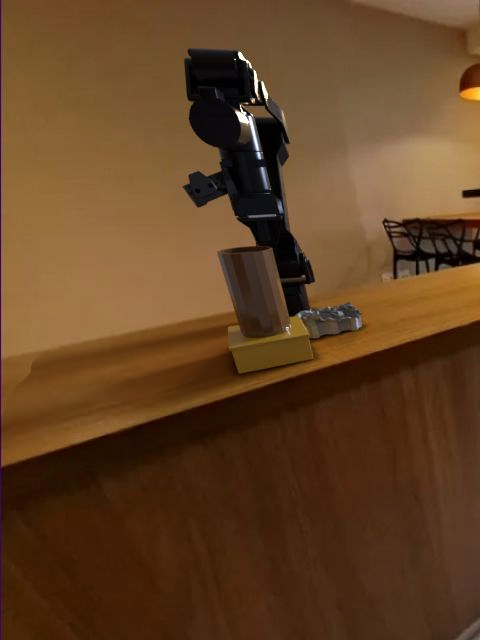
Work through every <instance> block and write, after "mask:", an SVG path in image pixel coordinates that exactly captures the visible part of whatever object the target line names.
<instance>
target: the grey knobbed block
mask: <svg viewBox="0 0 480 640" xmlns="http://www.w3.org/2000/svg"><path fill="white" fill-rule="evenodd" d="M295 316H299V317H300V319H301V321H302V322H303V324H304V326H305V328H306V329H307V331H308V333H309V335H310V337H309V339H320V337H321V336H324V335H337V334H340V333H341V332H343V331H352V332H353V331H358V330H359V328H362V326H363V323H362V318H361V316H363V312H361V311H360V310H359V309H358V308H357V307H356V306H355V305H353V304H352V303H351V302H350V301H346V303H344V304H339V305H334V306H333V307H330V306H326V307H324V308H320V309H319V308H318V309H316V310H314V311H301V312H299V313H297V314H296V315H295Z"/></svg>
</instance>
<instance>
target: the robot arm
mask: <svg viewBox="0 0 480 640" xmlns="http://www.w3.org/2000/svg"><path fill="white" fill-rule="evenodd" d="M186 52H187V55H188V56H189V57H184V58H183V63H184V65H183V66H184V77H185V78H184V79H185V90H186V99H187V100H188V102H189V103H192V104H191V105H190V108H189V111H188V122H189V125H190V127H191V130H192V131H193V133H194V134H195V135H196V137H198V138H199V140H201V141H202V142H204V143H205V144H207V145H208V146H211V147H213V148H217V150H218V154H219V158H220V161H218V164H219V166H220V171H217V172H214V173H212V174H209V175H206V174H204V173H203V172H201V171H199V170H196V171H194V172H191V173H190V174H188V176H187V177H188V183H187V184H184V185H182V186H181V187H182V189H183V190H184V191H185V193H186V195H187V196H188V197H189V199H190V200H191V202H192V203H193V204H194V205H195V207H196V208H198V209H199V208H202V207H204V206H206V205H208V203H209V202H212V201H215V200H217V199H220V198H222V197H224V196H226V195H227V196H228V198H229V202H230V206H231V210H232V211H233V214H234V217H235V219H236V220H237V221H238V222H239V223H241V224H242V225H244V226H245V227H247V228H248V229H249V230H250V232H251V234H252V235H251V236H253V239H254V241H255V246H269V247H272V249H273V253H274V257H275V261H276V265H277V270H278V274H279V278H280V282H281V286H282V290H283V294H284V298H285V302H286V306H287V310H288V314H289V317H294V316H295V315H296V314H297V313H299V312H301V311H315V310H314V309H313V307H312V306H311V305H310V301H309V296H308V291H307V287H306V285H311V284H313V283H316V278H315V274H314V270H313V267H312V263H311V261H310V259H309V258H308V257H307V255H306V254H305V252H304V251H303V250H302V248H301V246H300V243H299V242H298V240H297V239H296V238H295V236H294V235H293V234H292V232H291V226H290V218H289V211H288V202H287V196H286V195H287V194H286V188H285V180H284V179H285V178H284V173H283V167H284V165H285V163H286V162H287V161H288V159H289V157H290V150H289V145H291V144H292V140H291V135H290V131H289V127H288V124H287V120H286V117H285V114H284V111H283V109H282V108H281V107H280V106H279V104H278V103H276V102H275V101H274V100H273V99H272V98H271V97H270V96H269V95H268V92H267V90H266V86H265V83H264V81H263V80H259V79H258V77H257V72H256V71H255V69H254V68H253V67H252V65H251V62H250V61H249V60H247V59H246V58H245V57H244V56H243V54H242V53H241V51H240V50H239V49H226V48H225V49H223V48H204V47H203V48H202V47H188V49H187V50H186ZM246 107H264V109H265V111H266V112H267V113H268V114H269V115H270V116H254V115H253V114H252V112H250V111H249V110H248V109H247V108H246Z"/></svg>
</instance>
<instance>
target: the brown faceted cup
mask: <svg viewBox="0 0 480 640" xmlns="http://www.w3.org/2000/svg"><path fill="white" fill-rule="evenodd" d="M216 254H217V257H218V261H219V264H220V266H221V271H222V274H223V277H224V280H225V283H226V287H227V290H228V293H229V297H230V300H231V303H232V307H233V310H234V313H235V316H236V320H237V322H238V323H237V324H238V325H239V327H240V330H241V333H242V335H243V336H244V337H249V338H261V337H269V336H274V335H278V334H281V333H284V332H286V331H288V330H290V329H291V322H290V318H289V314H288V310H287V306H286V302H285V298H284V294H283V290H282V286H281V282H280V278H279V274H278V270H277V265H276V261H275V257H274V253H273V249H272V247H269V246H256V245H248V246H247V245H245V246H236V247H230V248H229V247H228V248H224V249H220V250H217V252H216Z"/></svg>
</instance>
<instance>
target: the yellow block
mask: <svg viewBox="0 0 480 640" xmlns="http://www.w3.org/2000/svg"><path fill="white" fill-rule="evenodd" d="M289 318H290V322H291V329H290V330H288V331H286V332H284V333H281V334H278V335H274V336H269V337H261V338H249V337H244V336H243V335H242V333H241V330H240V327H239V324H238V325H237V324H236V325H230V326H227V339H228V340H227V341H228V351H229V352H231V355H232V357H233V361H234V364H235V366H236V370H237V373H238V375H240V374H245V373H251V372H255V371H260V370H265V369H270V368H275V367H280V366H286V365H290V364H296V363H301V362H305V361H306V362H307V361H310V360H314V355H313V349H312V347H311V343H310V338H309V337H310V335H309V333H308V331H307V329H306V328H305V326H304V324H303V322H302V321H301V319H300V317H299V316H294V317H289Z"/></svg>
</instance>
